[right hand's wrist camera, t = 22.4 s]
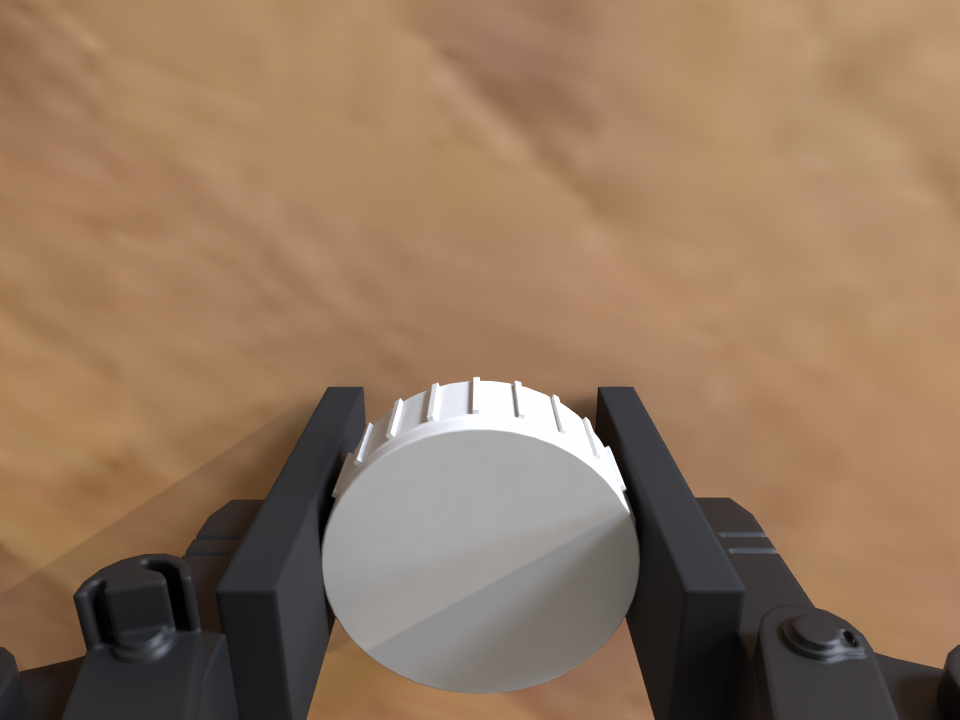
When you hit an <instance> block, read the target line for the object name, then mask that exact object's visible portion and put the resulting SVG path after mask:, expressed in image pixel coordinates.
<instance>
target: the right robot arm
mask: <svg viewBox="0 0 960 720" xmlns="http://www.w3.org/2000/svg"><path fill="white" fill-rule="evenodd" d="M365 428H366V423H365V407H364V392H363V387H328V388H327V390H326V392H325V394H324V395H323V397H322V399H321V401H320V403H319V404H318V406H317V408H316V410H315V411H314V413H313V415H312V417H311V419H310V420H309V422H308V424H307V426H306V428H305V429H304V431H303V433H302V435H301V437H300V438H299V440H298V442H297V444H296V446H295V447H294V449H293V451H292V453H291V455H290V456H289V458H288V460H287V462H286V464H285V465H284V467H283V469H282V471H281V473H280V474H279V476H278V478H277V480H276V482H275V483H274V485H273V487H272V489H271V491H270V492H269V494H268V496H267V498H266V500H231V501H230V502H229V503H227V504H226V505H225V506H223V507H222V508H220V509H219V510H218V511H216V512H215V513H213V514H212V515H211V516H209V518H208V519H207V521H206V522H205V524H204V525H203V527H202V528H201V530H200V531H199V533H198V534H197V538H196V540H193V542H192V543H191V545H190V546H189V548H188V549H187V551H186V555H185V556H183V557H182V558H180V557H176V556H172V555H168V554H144V555H140V556H135V557H131V558H127V559H123V560H121V561H118V562H116V563H114V564H112V565H109V566H107V567H105V568H103V569H101V570H99V571H98V572H97V573H95V574H94V575H93V576H91V577H90V578H88V579H87V580H86V581H84V582H83V584H82V585H81V586H80V588H79V589H78V590H77V592H76V593H75V594H74V596H73V598H74V601H75V605H76V609H77V613H78V617H79V621H80V625H81V629H82V633H83V637H84V640H85V644H86V648H87V652H86V655H85V656H82V657H79V658H76V659H72V660H69V661H65V662H60V663H56V664H52V665H47V666H43V667H39V668H34V669H30V670H26V671H21V672H19V671H18V668H17V664H16V661H15V658H14V656H13V655H12V654H11V653H10V652H8V651H7V650H6V649H5V648H3V647H0V720H306V718H307V715H308V711H309V708H310V704H311V701H312V698H313V694H314V691H315V687H316V684H317V680H318V677H319V673H320V670H321V666H322V663H323V659H324V656H325V652H326V649H327V646H328V642H329V639H330V635H331V632H332V628H333V625H334V621H335V618H336V616H335V615H334V613H333V611H332V608H331V606H330V604H329V601H328V599H327V596H326V592H325V589H324V585H323V576H322V566H321V544H322V540H323V535H324V530H325V527H326V524H327V521H328V518H329V516H330V513H331V510H332V508H333V505H334V502H335V499H336V498H334V497H332V493H333V491H334V488H335V485H336V483H337V480H338V477H339V475H340V472H341V470H342V467H343V464H344V462H345V459H346V457H347V454H348V453H352V454H353V453H354V451H355V449H356V447H357V446H358V444H359V442H360V440H361V439H362V437H363V434H364V431H365ZM595 435H596V436H597V437H598V438H599V440H600V441H601V443H602V445H603V446H604V448H605V447H607V446H609V448H610V449H611V452H612V454H613V457H614V459H615V462H616V464H617V467H618V470H619V472H620V475H621V477H622V480H623V482H624V485H625V487H626V490H625V493H626V495H627V498H628V501H629V503H630V506H631V509H632V511H633V514H634V516H635V519H636V531H637V535H638V540H639V546H640V566H639V576H638V584H637V588H636V592H635V595H634V598H633V600H632V603H631V605H630V608H629V610H628V612H627V614H626V616H625V617H626V621H627V624H628V628H629V631H630V635H631V638H632V642H633V645H634V648H635V652H636V655H637V659H638V662H639V666H640V669H641V673H642V676H643V680H644V683H645V687H646V690H647V694H648V697H649V701H650V704H651V708H652V711H653V715H654V718H655V720H960V645H958V646H956V647H955V648H954V649H953V650H952V651H950V652H949V653H948V655H947V658H946V662H945V665H944V668H943V669H939V668H934V667H930V666H926V665H921V664H917V663H912V662H908V661H904V660H899V659H895V658H891V657H888V656H885V655H881V654H878V653H875V652H874V651H873V649H872V648H871V646H870V645H869V643H868V641H867V640H866V638H865V637H864V635H863V634H862V633H860V632H859V631H858V630H857V629H856V628H854V627H853V626H852V625H851V624H850V623H848V622H847V621H845V620H843V619H841V618H840V617H838V616H836V615H834V614H832V613H830V612H828V611H825V610H821V609H818V608H815V607H814V605H813V604H812V602H811V601H810V599H809V598H808V596H807V595H806V593H805V592H804V590H803V589H802V587H801V586H800V585H799V583H798V582H797V580H796V579H795V577H794V576H793V574H792V573H791V571H790V570H789V568H788V567H787V565H786V564H785V562H784V561H783V559H782V558H781V556H780V555H779V554H776V549H775V547H774V546H773V544H772V543H771V542H770V540H769V539H768V537H765V533H764V531H763V530H762V528H761V527H760V525H759V524H758V522H757V521H756V519H755V518H754V516H753V515H752V514H751V513H750V512H748V511H747V510H745V509H744V508H743V507H741V506H740V505H739V504H737V503H736V502H734V501H733V500H732V499H730V498H695V497H694V495H693V494H692V492H691V490H690V488H689V486H688V485H687V483H686V481H685V479H684V477H683V476H682V474H681V472H680V470H679V468H678V467H677V465H676V463H675V461H674V459H673V458H672V456H671V454H670V452H669V450H668V449H667V447H666V445H665V443H664V441H663V440H662V438H661V436H660V434H659V432H658V431H657V429H656V427H655V425H654V423H653V422H652V420H651V418H650V416H649V414H648V413H647V411H646V409H645V407H644V405H643V404H642V402H641V400H640V398H639V396H638V395H637V393H636V391H635V389H634V387H598V397H597V412H596V428H595Z"/></svg>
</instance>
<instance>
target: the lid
mask: <svg viewBox="0 0 960 720" xmlns="http://www.w3.org/2000/svg"><path fill="white" fill-rule="evenodd" d="M625 490H626V487H625V485H624V482H623V480H622V477H621V475H620V472H619V470H618V467H617V464H616V462H615V459H614V457H613V454H612V452H611V449H610V448H609V446H607V447H605V448H604V446H603V445H602V443H601V441H600V440H599V438H598V437H597V436H596V435H595V433H594V432H593V430H592V427H591V424H590V421H589V420H588V419H587V418H586V417H585V418H584V419H583V420H582V419H581V418H580V417H579V416H578V415H576V414H575V413H574V412H573V411H571V410H570V409H568V408H567V407H566V406H564V405H563V404H561V403H560V401H559V397H557V396H555V395H553V396H552V398H550V397H548V396H546V395H544V394H542V393H539V392H537V391H534V390H531V389H529V388H525V387H521V382H517V381H515V382H514V385H513V384H509V383H501V382H492V381H480V378H479V377H473V381H468V382H460V383H452V384H447V385H443V386H440V387H439V384H438V383H435V384H432V389H429V390H427V391H424V392H422V393H419V394H417V395H414V396H412V397H410V398H409V399H407V400H405V401H402V400H401V399H398V400H397V401H395V405H394V408H392V409H391V410H390V411H388V412H387V413H386V414H384V415H383V416H382V417H381V418H380V419H379V420H378V421H377V422H376V423H375V424H374V425H373V424H371V423H369V424H368V425H367V426H366V428H365V431H364V434H363V437H362V439H361V440H360V442H359V444H358V446H357V447H356V449H355V451H354V453H353V454H352V453H348V454H347V457H346V459H345V462H344V464H343V467H342V470H341V472H340V475H339V477H338V480H337V483H336V485H335V488H334V491H333V493H332V497H334V498H336V499H335V502H334V505H333V508H332V510H331V513H330V516H329V518H328V521H327V524H326V527H325V530H324V535H323V540H322V544H321V566H322V576H323V585H324V589H325V592H326V596H327V599H328V601H329V604H330V606H331V608H332V611H333V613H334V615H335V616H336V618H337V620H338V621H339V623H340V625H341V626H342V628H343V629H344V631H345V632H346V633H347V634H348V635H349V637H350V638H351V639H352V640H353V642H354V643H355V644H356V645H357V646H359V647H360V648H361V649H362V650H363V651H364V652H365V653H366V654H367V655H368V656H370V657H371V658H372V659H374V660H375V661H376V662H378V663H379V664H381V665H382V666H384V667H385V668H387V669H389V670H391V671H392V672H394V673H396V674H398V675H400V676H402V677H404V678H407V679H409V680H411V681H414V682H416V683H419V684H423V685H426V686H429V687H432V688H436V689H441V690H446V691H452V692H461V693H471V694H475V693H499V692H509V691H514V690H519V689H524V688H528V687H532V686H535V685H538V684H541V683H544V682H547V681H549V680H551V679H554V678H556V677H558V676H560V675H563V674H565V673H566V672H568V671H570V670H572V669H573V668H575V667H577V666H578V665H580V664H581V663H583V662H584V661H585V660H587V659H588V658H589V657H591V656H592V655H593V654H595V653H596V652H597V651H598V650H599V649H600V648H601V647H602V646H603V645H604V644H605V643H606V642H607V641H608V640H609V639H610V637H611V636H612V635H613V634H614V632H615V631H616V630H617V629H618V627H619V626H620V624H621V622H622V621H623V619H624V617H625V616H626V614H627V612H628V610H629V608H630V605H631V603H632V600H633V598H634V595H635V592H636V588H637V584H638V576H639V566H640V546H639V540H638V535H637V531H636V519H635V516H634V514H633V511H632V509H631V506H630V503H629V501H628V498H627V495H626V493H625Z"/></svg>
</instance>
